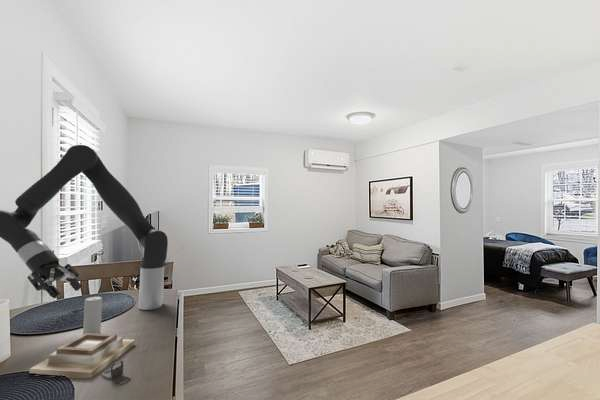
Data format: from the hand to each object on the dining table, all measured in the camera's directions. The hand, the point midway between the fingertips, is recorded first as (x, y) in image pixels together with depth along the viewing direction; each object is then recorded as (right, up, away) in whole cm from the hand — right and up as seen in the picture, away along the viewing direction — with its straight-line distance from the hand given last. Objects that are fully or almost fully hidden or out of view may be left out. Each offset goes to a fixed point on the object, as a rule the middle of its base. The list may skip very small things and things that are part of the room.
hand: (68, 292), depth 96 cm
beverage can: (+8, -14, -1) cm, 16 cm away
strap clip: (+32, -14, -24) cm, 42 cm away
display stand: (+18, -14, -15) cm, 27 cm away
